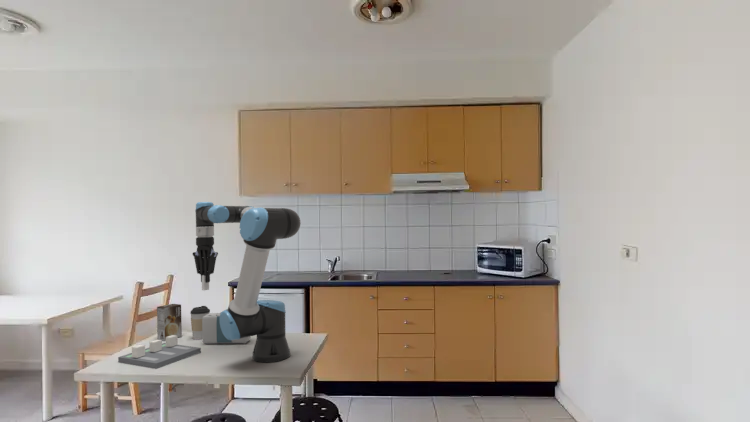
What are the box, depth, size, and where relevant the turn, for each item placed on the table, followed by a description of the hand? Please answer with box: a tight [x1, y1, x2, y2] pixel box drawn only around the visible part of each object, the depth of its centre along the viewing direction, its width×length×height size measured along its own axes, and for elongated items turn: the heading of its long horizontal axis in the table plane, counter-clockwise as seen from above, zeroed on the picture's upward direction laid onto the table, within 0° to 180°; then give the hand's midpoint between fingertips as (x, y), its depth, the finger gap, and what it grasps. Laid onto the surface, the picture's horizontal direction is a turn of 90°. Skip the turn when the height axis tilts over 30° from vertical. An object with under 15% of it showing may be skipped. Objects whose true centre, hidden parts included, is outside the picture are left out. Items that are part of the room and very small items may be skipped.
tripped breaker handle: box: [148, 339, 163, 352], centre depth 181 cm, size 3×4×4 cm
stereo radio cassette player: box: [202, 308, 251, 345], centre depth 201 cm, size 21×8×20 cm, turn 88°
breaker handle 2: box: [165, 335, 179, 347], centre depth 189 cm, size 3×4×4 cm
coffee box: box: [156, 303, 183, 342], centre depth 210 cm, size 9×6×16 cm
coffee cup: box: [189, 305, 211, 341], centre depth 210 cm, size 9×9×15 cm
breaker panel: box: [117, 342, 202, 370], centre depth 180 cm, size 22×22×2 cm
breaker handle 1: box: [131, 344, 146, 358], centre depth 174 cm, size 3×4×4 cm
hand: (205, 289), depth 190 cm, fingers closed
